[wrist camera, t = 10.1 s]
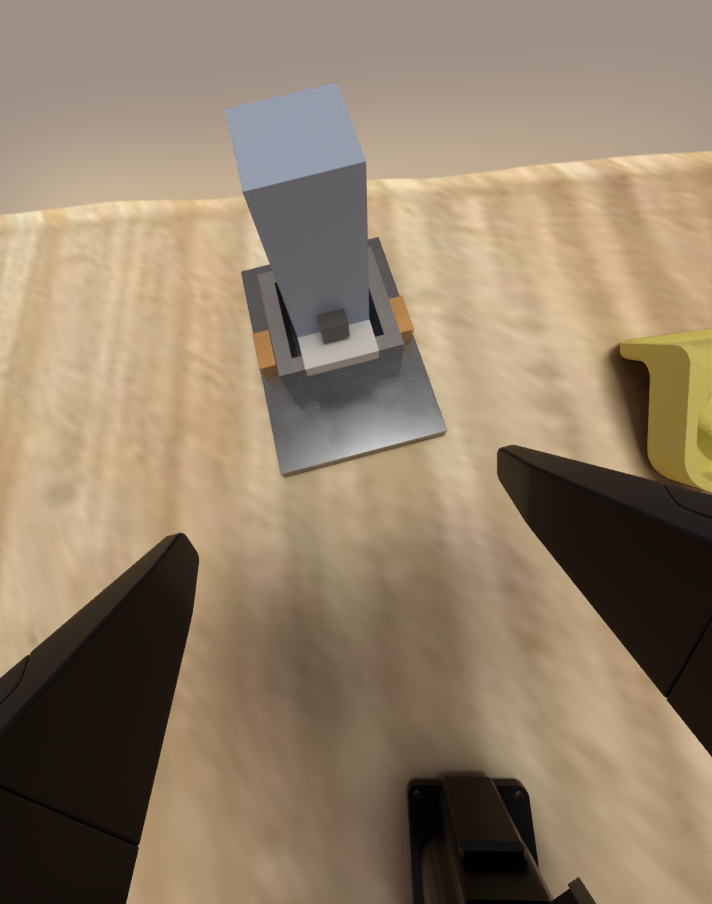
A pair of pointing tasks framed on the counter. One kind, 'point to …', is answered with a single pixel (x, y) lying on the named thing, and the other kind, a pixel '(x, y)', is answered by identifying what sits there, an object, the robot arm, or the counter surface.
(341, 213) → the grey tall block
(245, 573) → the counter surface
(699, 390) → the plastic component
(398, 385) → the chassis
